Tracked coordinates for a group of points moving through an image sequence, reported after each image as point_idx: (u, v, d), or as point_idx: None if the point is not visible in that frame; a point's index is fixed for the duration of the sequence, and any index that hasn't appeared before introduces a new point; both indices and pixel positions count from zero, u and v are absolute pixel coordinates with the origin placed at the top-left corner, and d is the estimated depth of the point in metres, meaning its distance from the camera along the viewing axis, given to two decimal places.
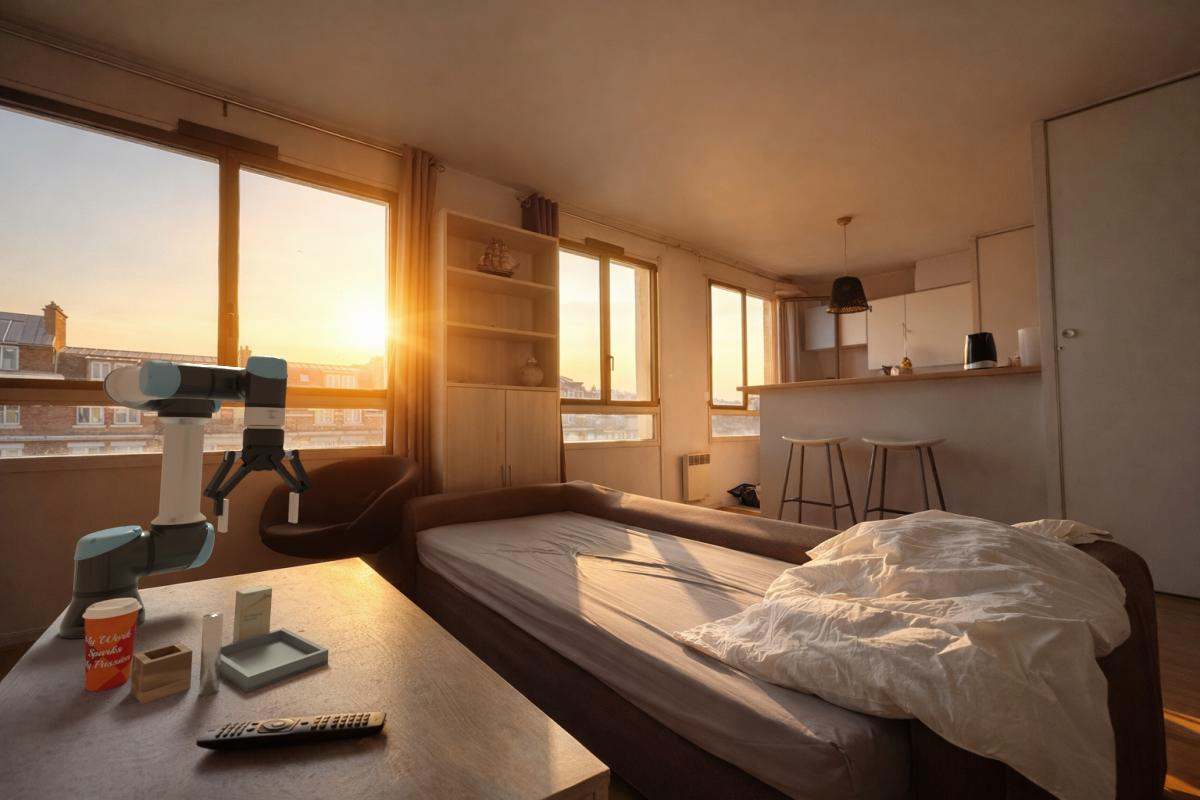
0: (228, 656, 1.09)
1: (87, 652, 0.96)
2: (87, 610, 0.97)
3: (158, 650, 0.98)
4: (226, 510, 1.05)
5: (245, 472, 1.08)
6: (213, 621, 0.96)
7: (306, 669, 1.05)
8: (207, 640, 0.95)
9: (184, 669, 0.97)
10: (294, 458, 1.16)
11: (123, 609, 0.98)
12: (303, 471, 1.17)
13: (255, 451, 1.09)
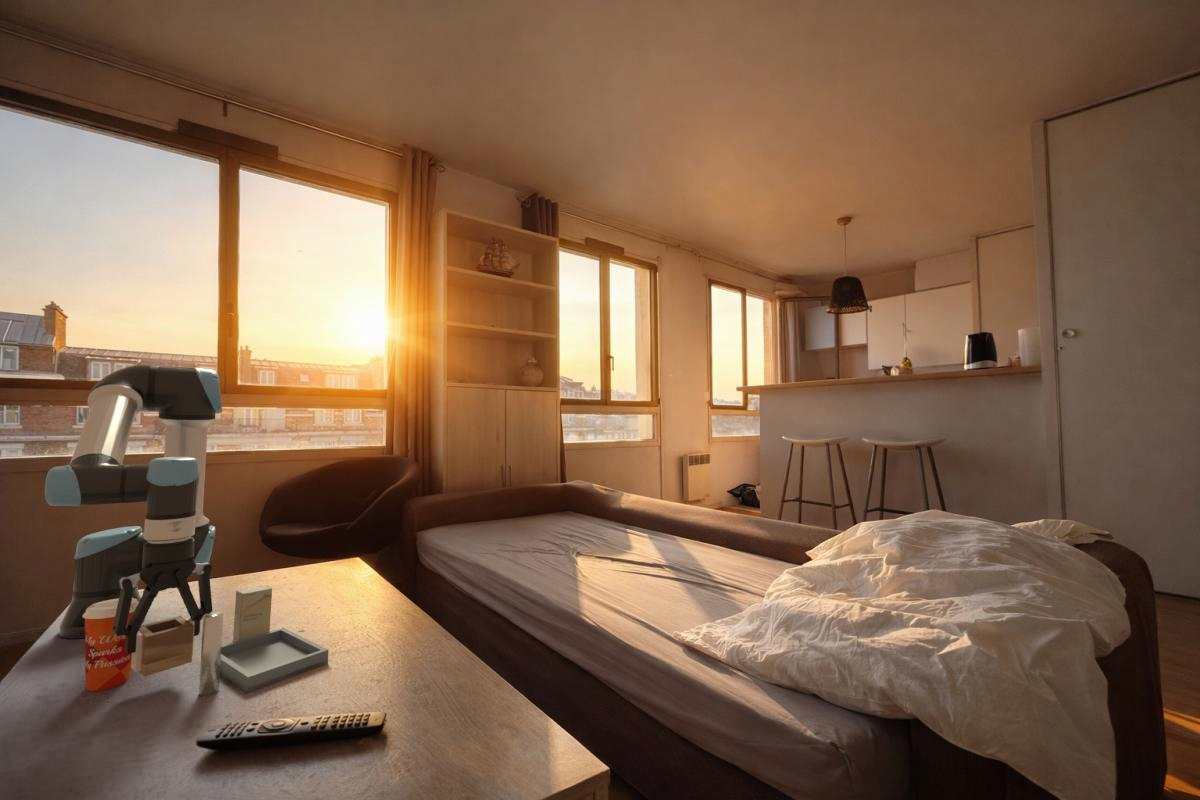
0: (228, 656, 1.09)
1: (87, 652, 0.96)
2: (87, 610, 0.97)
3: (160, 624, 0.99)
4: (139, 646, 0.94)
5: (151, 597, 0.95)
6: (213, 621, 0.96)
7: (306, 669, 1.05)
8: (207, 640, 0.95)
9: (186, 642, 0.98)
10: (203, 574, 1.02)
11: None
12: (208, 591, 1.02)
13: (155, 567, 0.96)
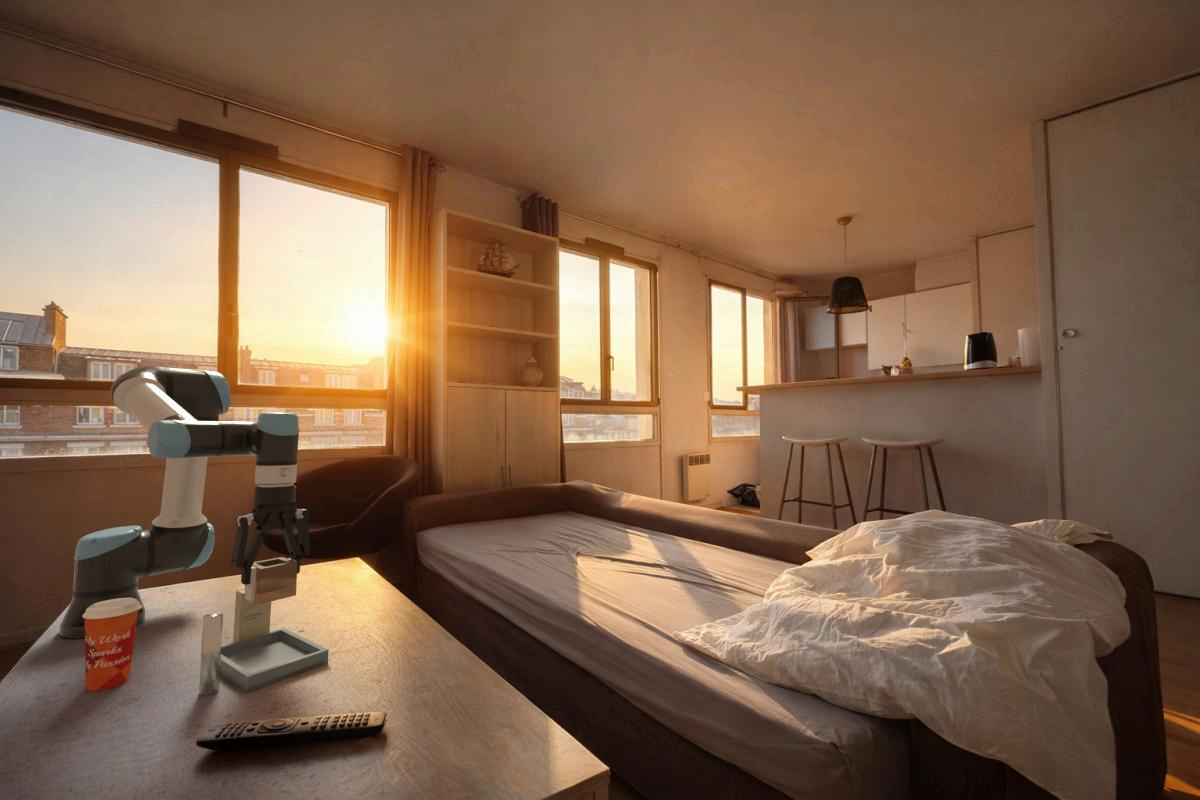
0: (228, 656, 1.09)
1: (87, 652, 0.96)
2: (87, 610, 0.97)
3: (266, 562, 1.10)
4: (254, 578, 1.05)
5: (263, 535, 1.07)
6: (214, 621, 0.96)
7: (306, 669, 1.05)
8: (207, 640, 0.95)
9: (291, 577, 1.09)
10: (303, 518, 1.13)
11: (123, 609, 0.98)
12: (307, 534, 1.14)
13: (265, 508, 1.07)
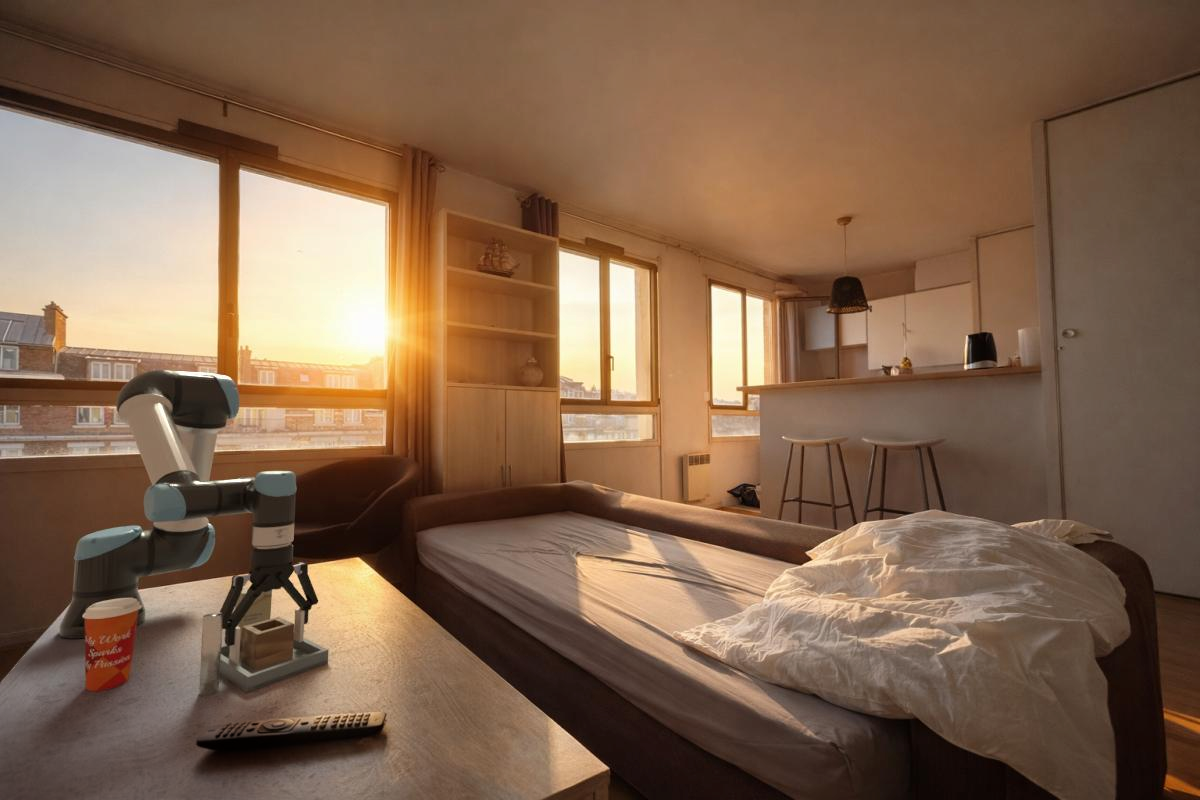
0: (228, 656, 1.09)
1: (87, 652, 0.96)
2: (87, 610, 0.97)
3: (263, 623, 1.10)
4: (238, 639, 1.03)
5: (255, 596, 1.05)
6: (213, 621, 0.96)
7: (306, 669, 1.05)
8: (207, 640, 0.95)
9: (288, 640, 1.08)
10: (302, 573, 1.13)
11: (123, 609, 0.98)
12: (310, 586, 1.14)
13: (263, 571, 1.07)
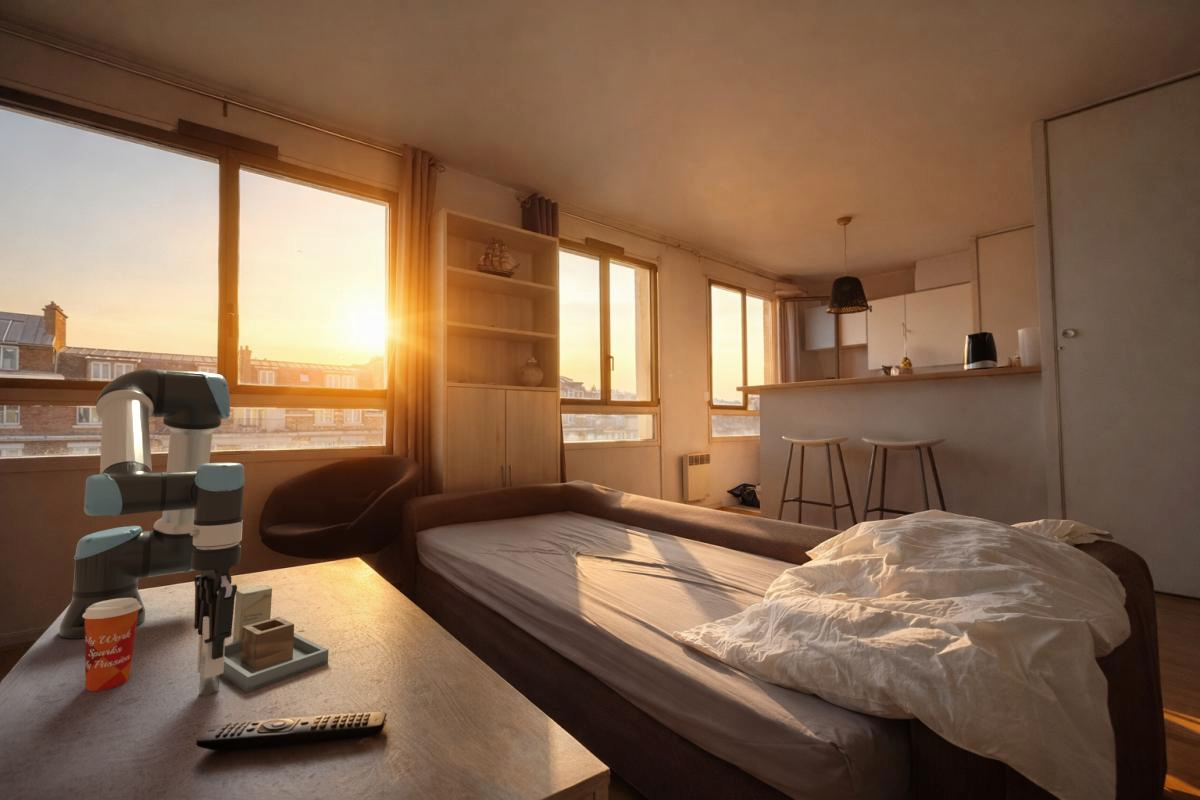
0: (228, 656, 1.09)
1: (87, 652, 0.96)
2: (87, 610, 0.97)
3: (263, 623, 1.10)
4: (199, 648, 0.97)
5: (202, 599, 0.97)
6: None
7: (306, 669, 1.05)
8: None
9: (288, 640, 1.08)
10: (218, 595, 0.94)
11: (123, 609, 0.98)
12: (217, 616, 0.93)
13: None
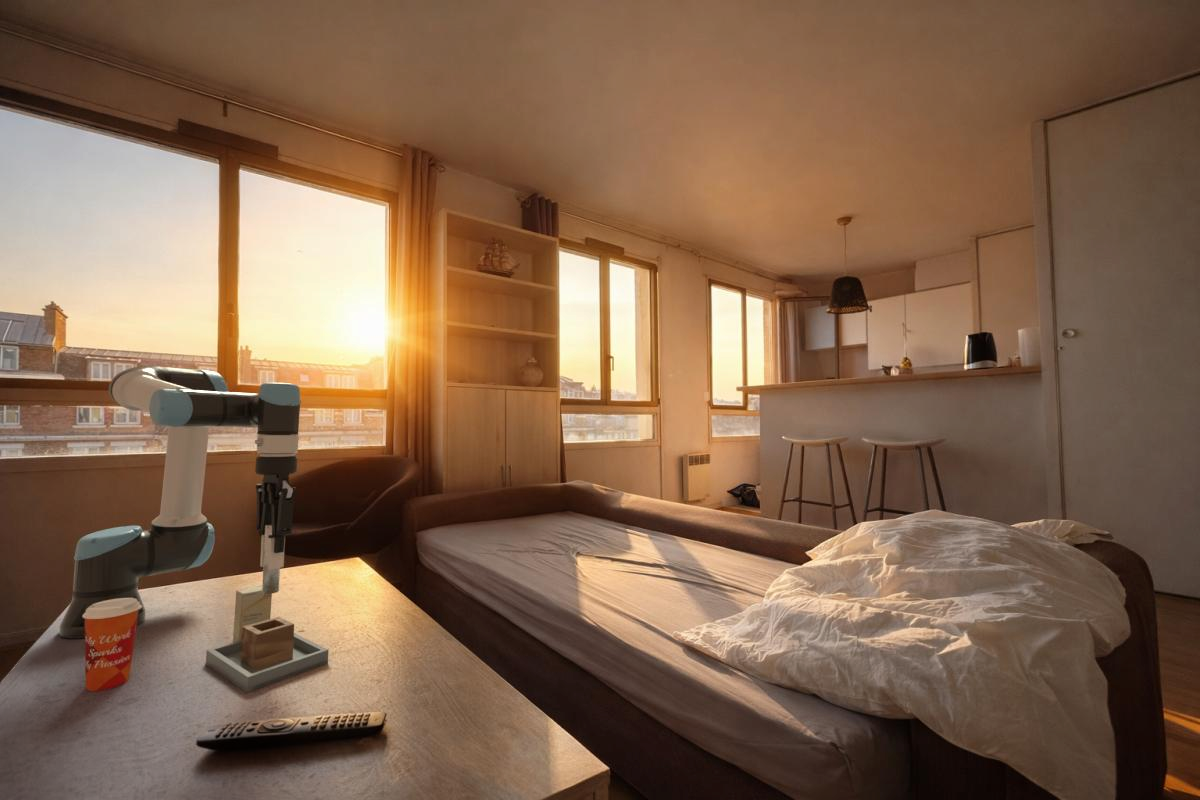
0: (228, 656, 1.09)
1: (87, 652, 0.96)
2: (87, 610, 0.97)
3: (263, 623, 1.10)
4: (261, 545, 1.09)
5: (264, 503, 1.10)
6: None
7: (306, 669, 1.05)
8: None
9: (288, 640, 1.08)
10: (280, 496, 1.06)
11: (123, 609, 0.98)
12: (279, 514, 1.06)
13: (265, 476, 1.11)
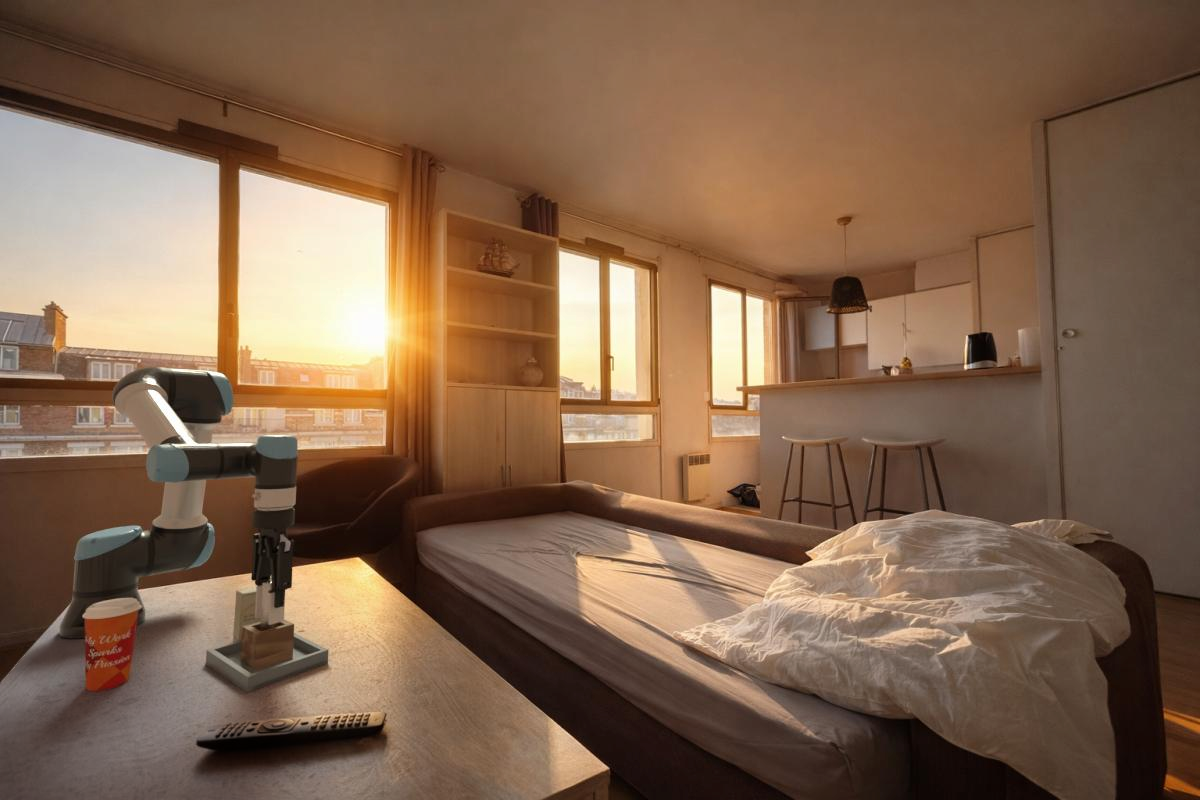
0: (228, 656, 1.09)
1: (87, 652, 0.96)
2: (87, 610, 0.97)
3: None
4: (256, 596, 1.09)
5: (260, 555, 1.09)
6: None
7: (306, 669, 1.05)
8: (266, 603, 1.07)
9: (288, 640, 1.08)
10: (278, 550, 1.05)
11: (123, 609, 0.98)
12: (279, 568, 1.05)
13: (262, 529, 1.10)
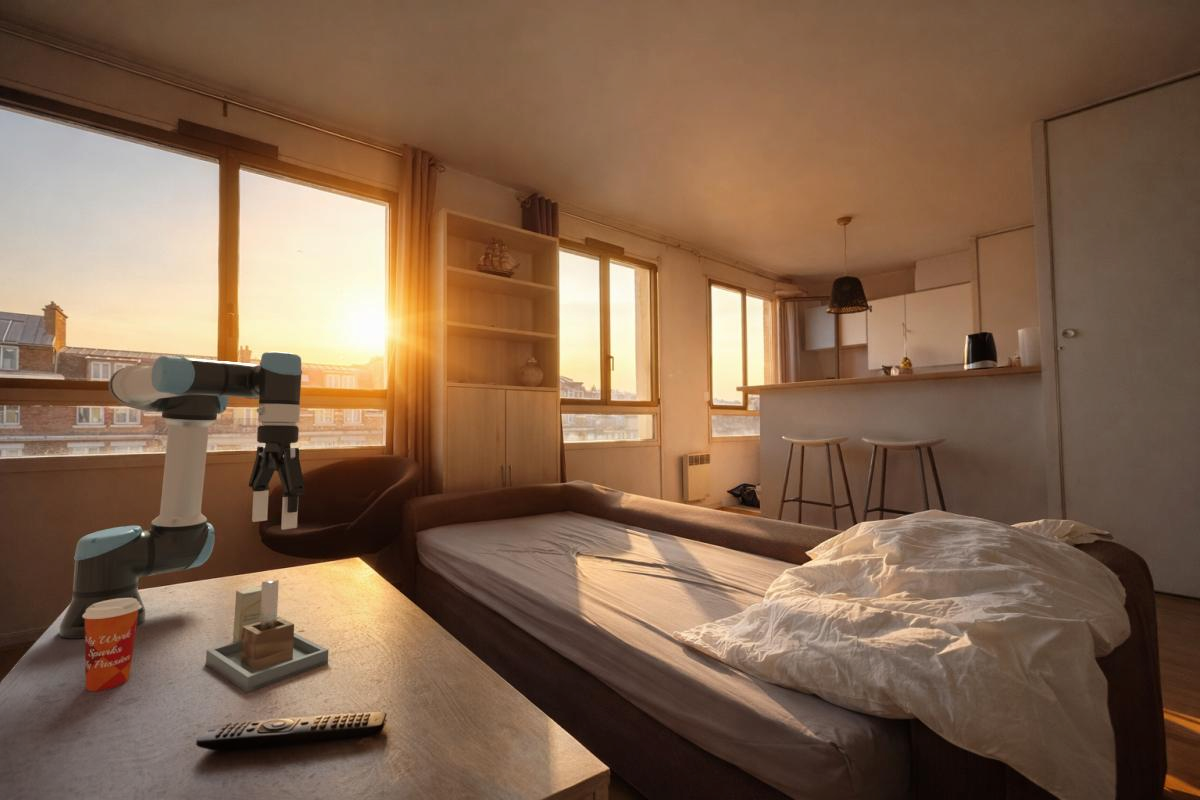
0: (228, 656, 1.09)
1: (87, 652, 0.96)
2: (87, 610, 0.97)
3: None
4: (253, 501, 1.13)
5: None
6: (271, 586, 1.08)
7: (306, 669, 1.05)
8: (266, 603, 1.07)
9: (288, 640, 1.08)
10: (284, 457, 1.06)
11: (123, 609, 0.98)
12: (288, 473, 1.05)
13: (267, 448, 1.11)
